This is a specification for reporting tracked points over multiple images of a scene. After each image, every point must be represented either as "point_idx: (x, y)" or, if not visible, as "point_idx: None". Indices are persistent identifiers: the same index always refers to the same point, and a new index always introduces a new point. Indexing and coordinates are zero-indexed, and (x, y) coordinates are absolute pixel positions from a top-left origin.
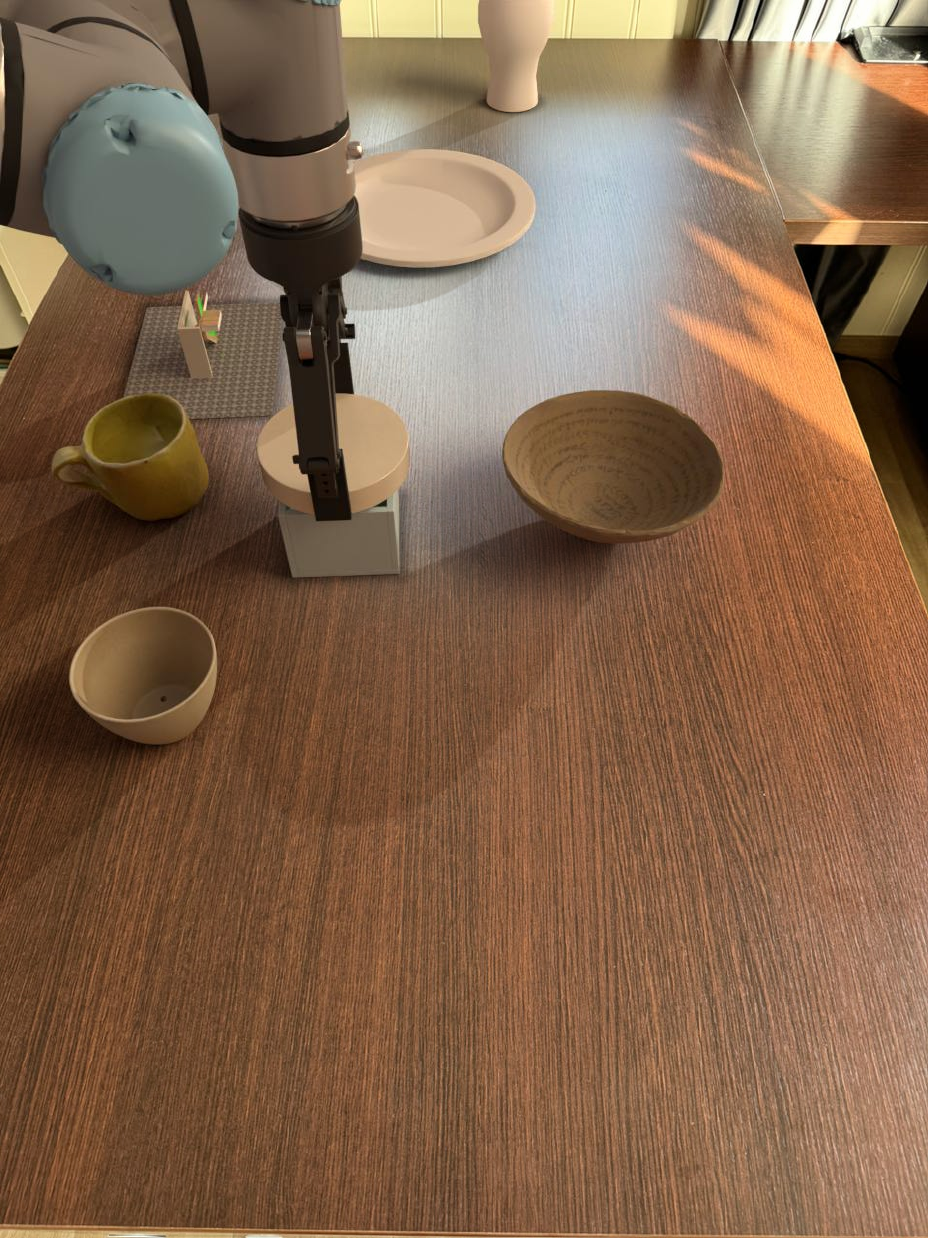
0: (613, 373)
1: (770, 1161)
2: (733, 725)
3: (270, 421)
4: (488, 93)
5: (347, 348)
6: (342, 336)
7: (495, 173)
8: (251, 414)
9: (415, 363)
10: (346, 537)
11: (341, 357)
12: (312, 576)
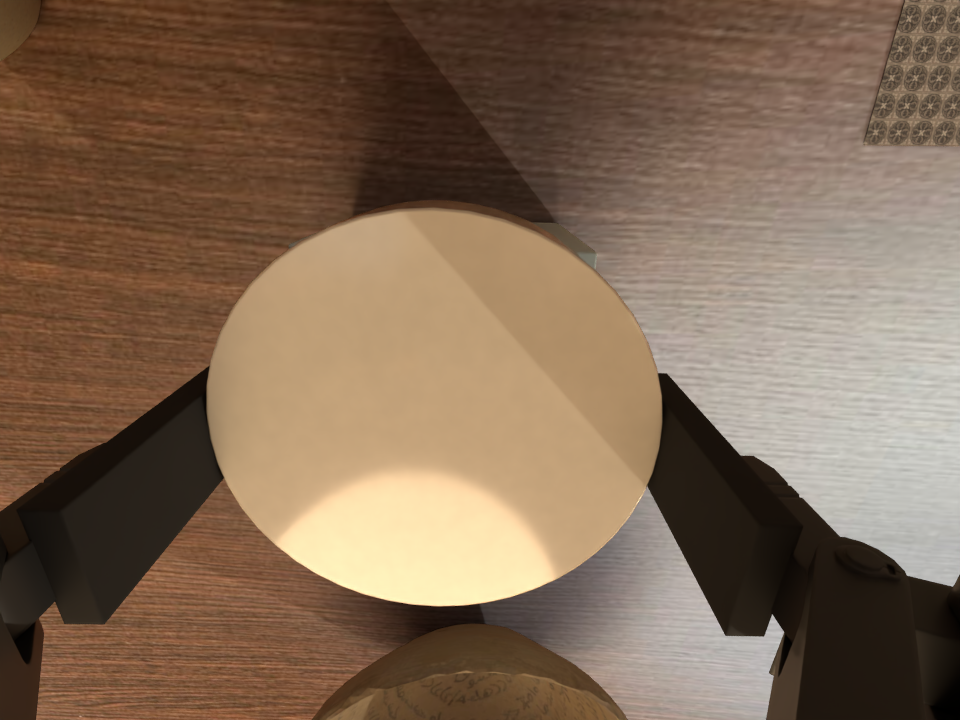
0: (768, 696)
1: None
2: (159, 710)
3: (548, 250)
4: None
5: (724, 632)
6: (778, 659)
7: None
8: (886, 88)
9: (917, 444)
10: None
11: (710, 577)
12: None
